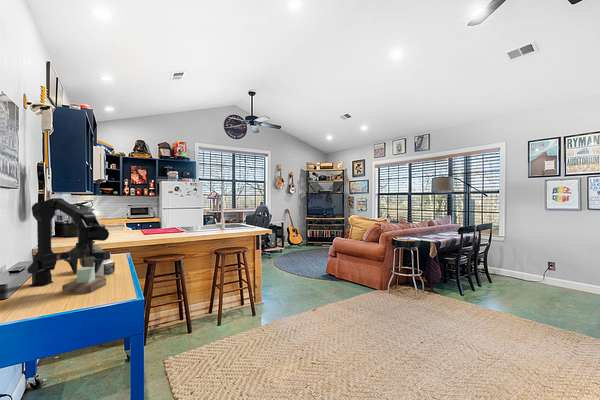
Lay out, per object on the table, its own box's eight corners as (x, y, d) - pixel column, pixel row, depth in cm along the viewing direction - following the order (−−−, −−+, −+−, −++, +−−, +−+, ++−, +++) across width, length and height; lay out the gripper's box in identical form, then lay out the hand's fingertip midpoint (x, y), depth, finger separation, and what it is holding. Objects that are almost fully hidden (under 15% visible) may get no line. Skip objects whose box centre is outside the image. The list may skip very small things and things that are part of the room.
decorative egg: (92, 273, 162) (92, 246, 162) (74, 272, 164) (74, 245, 164) (109, 268, 173) (109, 243, 173) (92, 267, 175) (92, 242, 175)
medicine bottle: (103, 277, 155) (104, 254, 155) (92, 276, 157) (92, 254, 157) (114, 273, 162) (115, 252, 162) (104, 272, 164) (104, 251, 164)
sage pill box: (76, 282, 134) (76, 269, 133) (83, 279, 139) (83, 267, 138) (88, 282, 134) (88, 269, 134) (95, 279, 139) (95, 267, 139)
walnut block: (62, 294, 130) (62, 285, 130) (80, 286, 142) (80, 277, 142) (90, 294, 131) (90, 285, 131) (106, 285, 143) (106, 277, 143)
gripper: (50, 242, 127) (50, 278, 127) (96, 242, 129) (96, 277, 129) (68, 238, 138) (68, 271, 138) (110, 238, 140) (110, 271, 140)
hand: (85, 273), depth 136 cm, fingers open, 9 cm apart
